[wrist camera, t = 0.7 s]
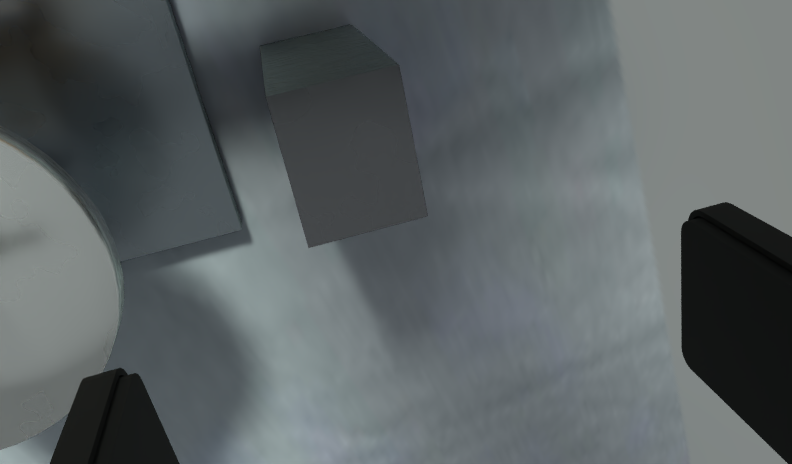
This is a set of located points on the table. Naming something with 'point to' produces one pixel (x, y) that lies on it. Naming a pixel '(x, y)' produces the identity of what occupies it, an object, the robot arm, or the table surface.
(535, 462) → the table surface
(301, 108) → the grey rectangular block
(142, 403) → the robot arm
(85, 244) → the ringlock standard
